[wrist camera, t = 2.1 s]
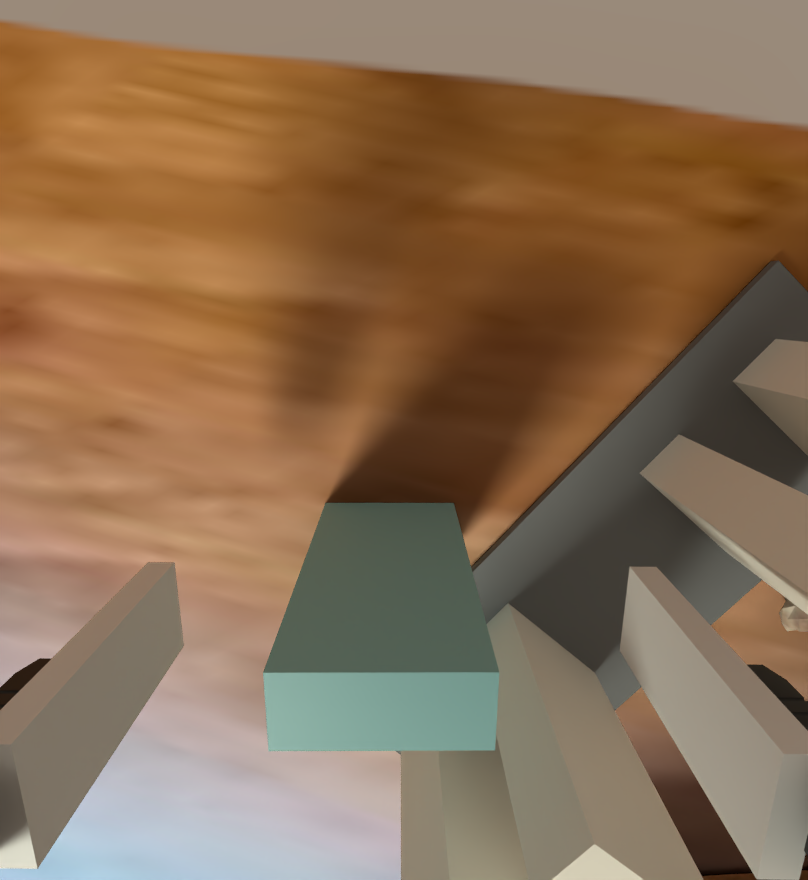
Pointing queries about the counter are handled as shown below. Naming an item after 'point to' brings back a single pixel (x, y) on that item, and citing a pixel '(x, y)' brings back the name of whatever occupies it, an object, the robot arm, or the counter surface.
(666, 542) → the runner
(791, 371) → the domino
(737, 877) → the bread
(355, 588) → the teal domino
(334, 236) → the counter surface
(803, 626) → the rock
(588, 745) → the domino
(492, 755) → the domino
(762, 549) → the domino
